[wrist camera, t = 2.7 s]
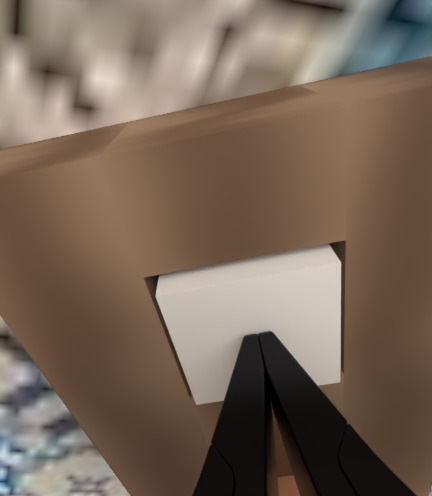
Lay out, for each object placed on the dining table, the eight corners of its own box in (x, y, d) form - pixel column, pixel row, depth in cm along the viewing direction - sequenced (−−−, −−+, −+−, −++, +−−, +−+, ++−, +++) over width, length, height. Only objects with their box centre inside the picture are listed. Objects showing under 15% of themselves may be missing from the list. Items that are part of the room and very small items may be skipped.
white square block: (303, 205, 11) (340, 262, 8) (309, 309, 14) (340, 381, 11) (166, 231, 12) (155, 296, 9) (196, 328, 14) (196, 404, 11)
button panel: (441, 54, 10) (565, 59, 7) (383, 458, 22) (416, 531, 19) (3, 148, 11) (-86, 196, 7) (181, 486, 23) (178, 562, 20)
